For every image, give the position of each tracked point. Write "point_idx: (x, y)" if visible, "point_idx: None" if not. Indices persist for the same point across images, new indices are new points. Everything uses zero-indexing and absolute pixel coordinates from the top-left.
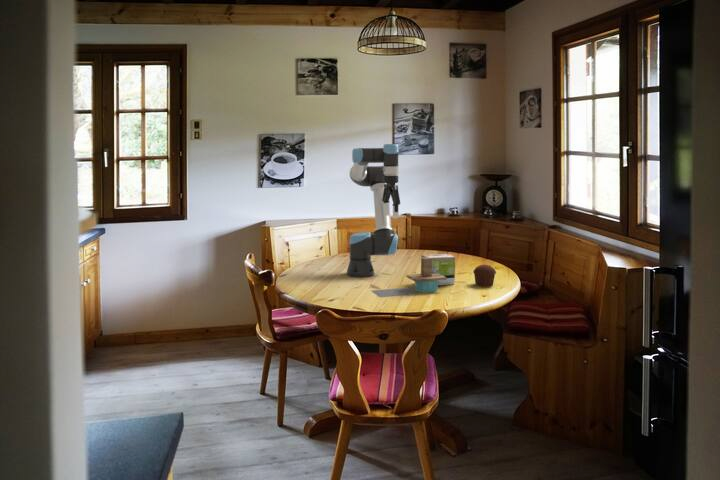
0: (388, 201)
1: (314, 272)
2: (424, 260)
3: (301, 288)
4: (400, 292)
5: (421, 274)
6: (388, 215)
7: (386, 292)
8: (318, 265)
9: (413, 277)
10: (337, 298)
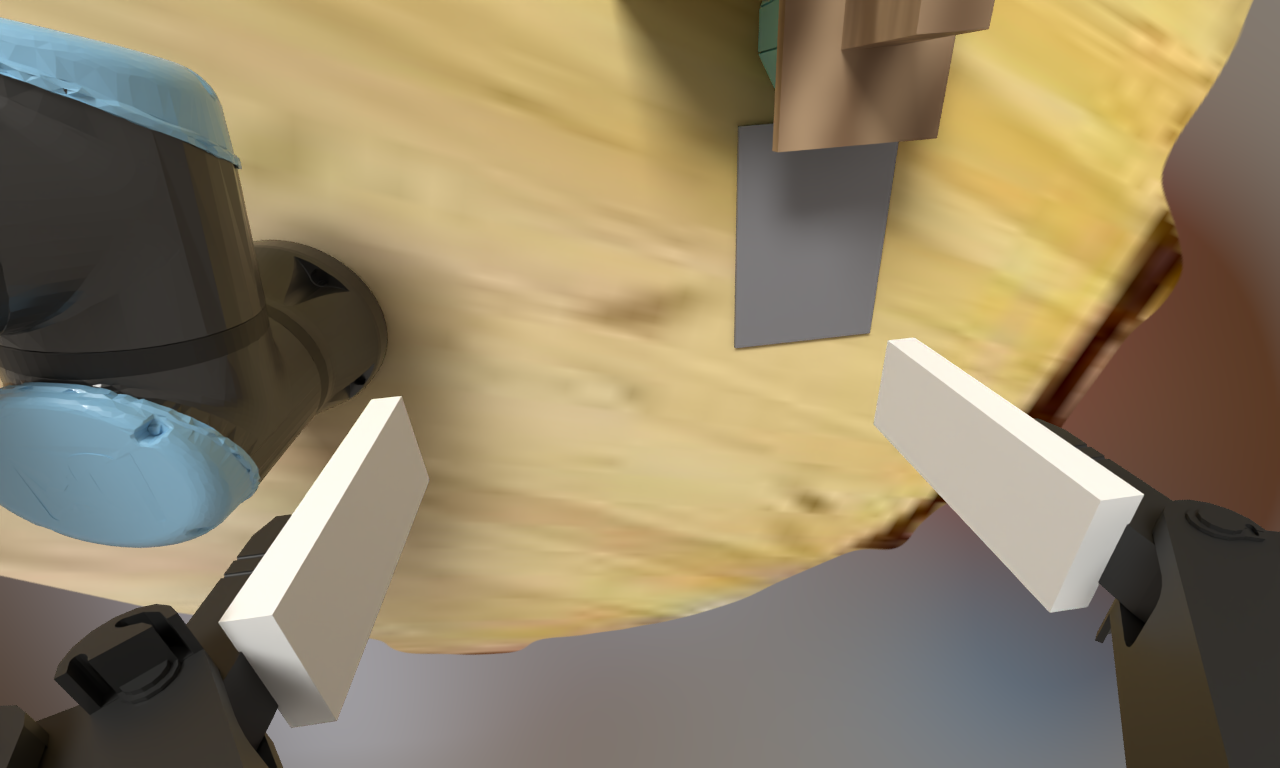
0: (215, 682)
1: (246, 534)
2: (981, 27)
3: (594, 582)
4: (829, 212)
5: (853, 48)
6: (406, 411)
7: (800, 284)
8: None
9: (874, 132)
10: (797, 483)
